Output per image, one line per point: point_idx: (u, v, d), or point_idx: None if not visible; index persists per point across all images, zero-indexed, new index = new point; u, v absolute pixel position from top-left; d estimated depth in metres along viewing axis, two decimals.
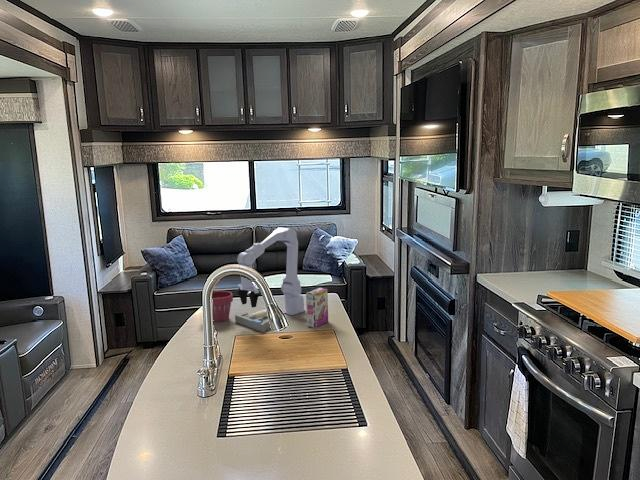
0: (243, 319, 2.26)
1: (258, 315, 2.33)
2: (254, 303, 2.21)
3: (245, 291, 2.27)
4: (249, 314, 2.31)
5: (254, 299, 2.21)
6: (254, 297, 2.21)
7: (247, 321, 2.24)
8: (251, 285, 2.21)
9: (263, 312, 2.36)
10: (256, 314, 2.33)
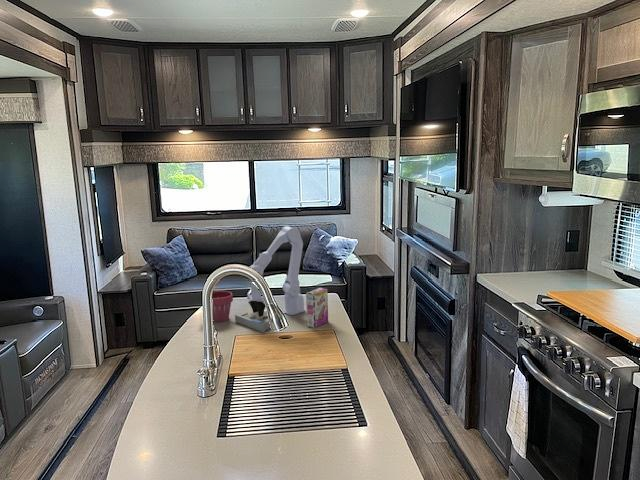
0: (243, 319, 2.26)
1: (258, 315, 2.33)
2: (261, 312, 2.33)
3: (256, 302, 2.36)
4: (249, 314, 2.31)
5: (261, 309, 2.33)
6: (261, 307, 2.33)
7: (247, 321, 2.24)
8: (261, 296, 2.32)
9: None
10: (256, 314, 2.33)
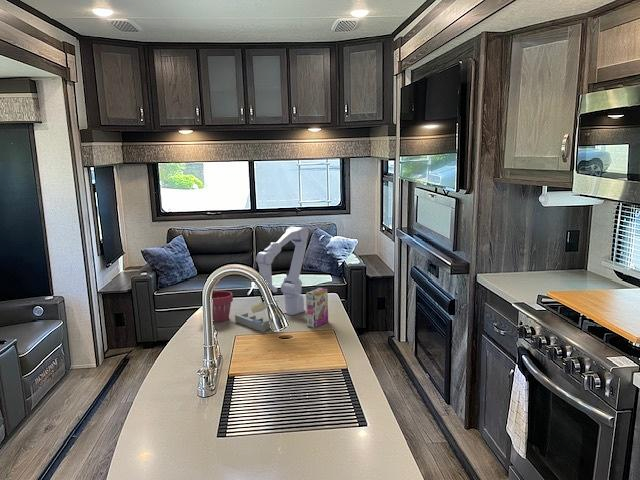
0: (243, 319, 2.26)
1: None
2: None
3: None
4: (257, 304, 2.25)
5: None
6: None
7: (247, 321, 2.24)
8: (270, 284, 2.25)
9: None
10: (264, 304, 2.26)
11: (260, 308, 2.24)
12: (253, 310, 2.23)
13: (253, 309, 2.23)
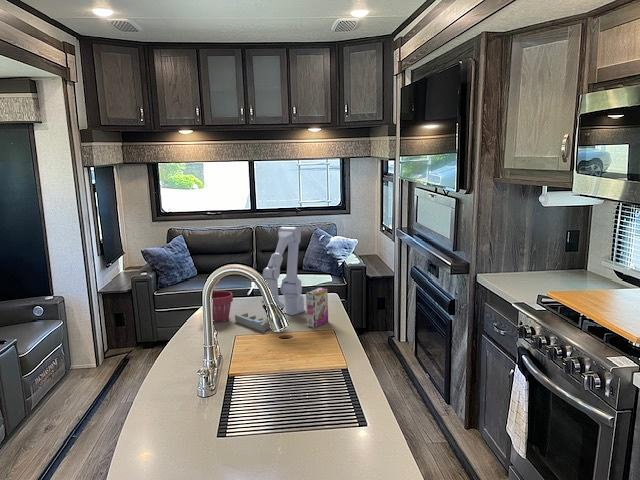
0: (243, 319, 2.26)
1: None
2: None
3: None
4: None
5: None
6: None
7: (247, 321, 2.24)
8: (276, 300, 2.23)
9: None
10: None
11: None
12: None
13: None
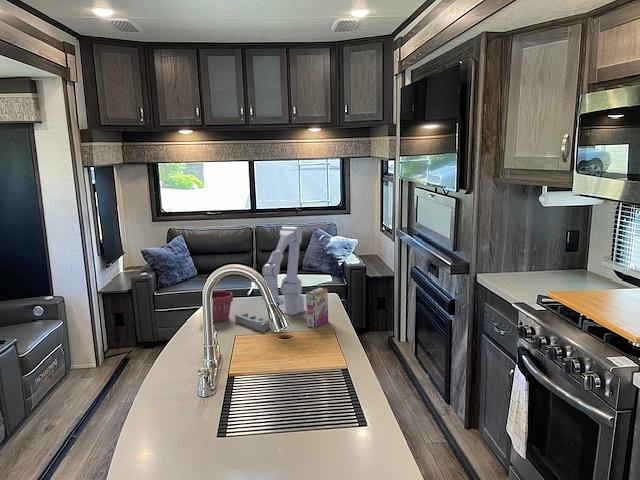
0: (243, 319, 2.26)
1: None
2: None
3: None
4: None
5: None
6: None
7: (247, 321, 2.24)
8: (276, 296, 2.23)
9: None
10: None
11: None
12: None
13: None
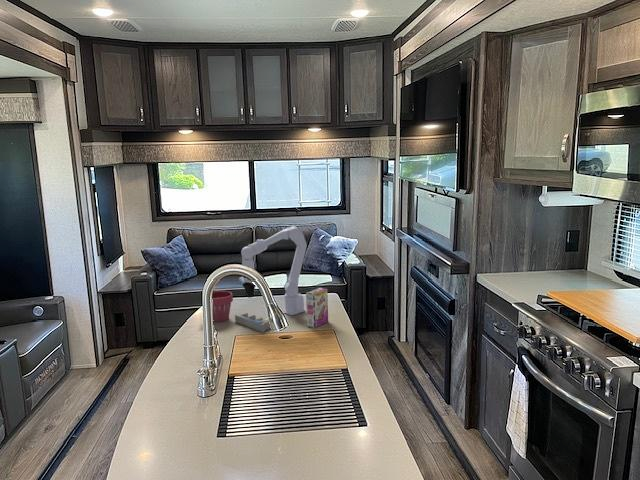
0: (243, 319, 2.26)
1: None
2: (251, 293, 2.37)
3: None
4: None
5: (251, 290, 2.37)
6: (251, 288, 2.37)
7: (247, 321, 2.24)
8: None
9: None
10: None
11: None
12: None
13: None
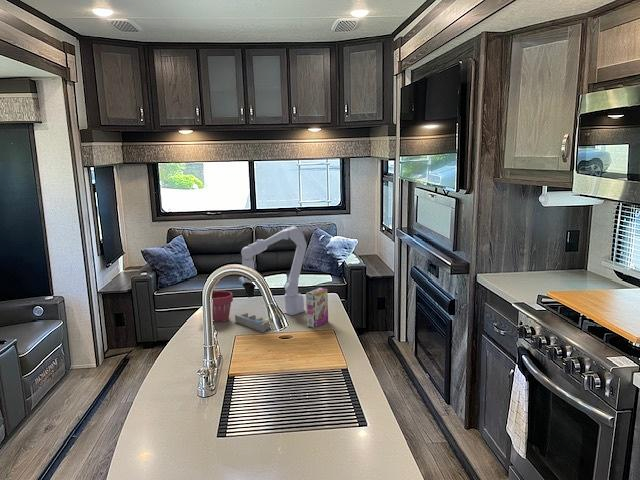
0: (243, 319, 2.26)
1: None
2: (251, 293, 2.37)
3: None
4: None
5: (251, 290, 2.37)
6: (251, 288, 2.37)
7: (247, 321, 2.24)
8: None
9: None
10: None
11: None
12: None
13: None
